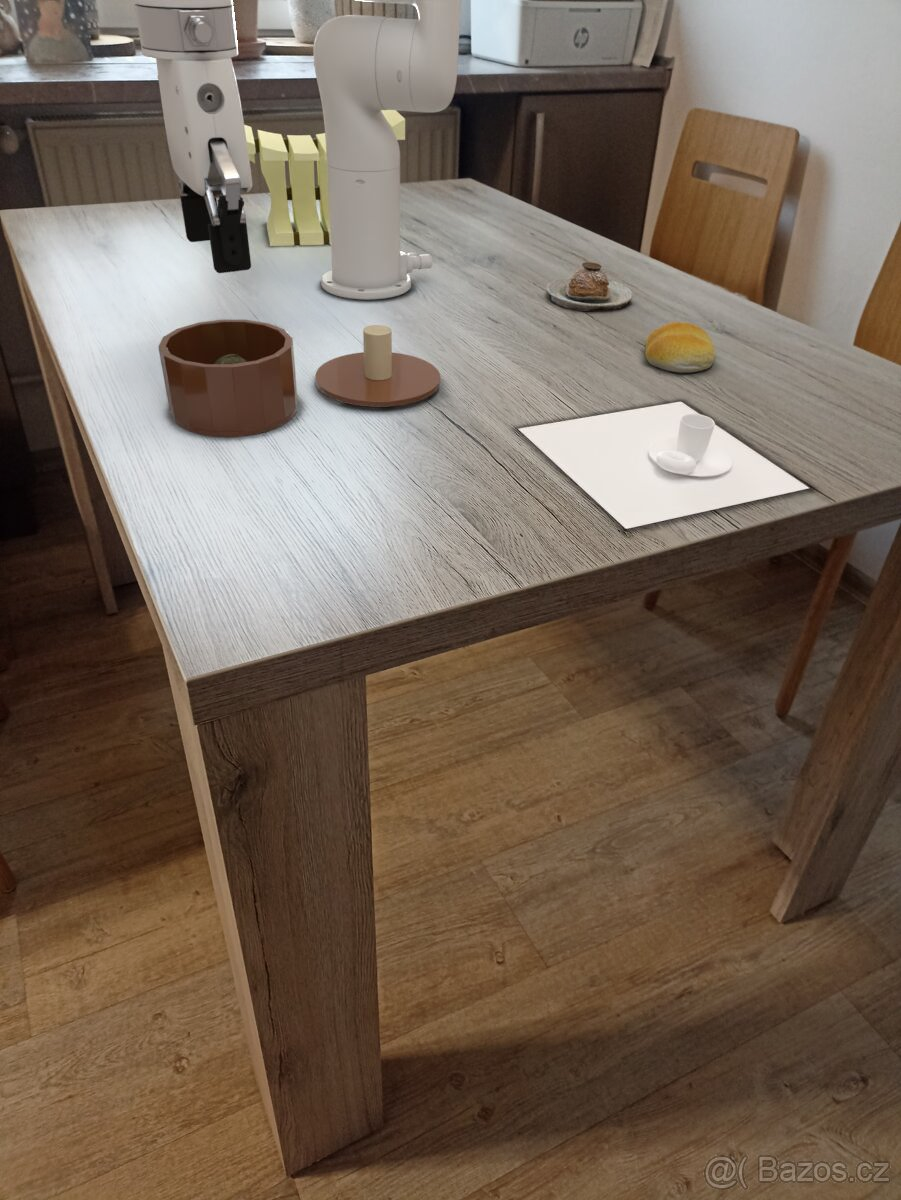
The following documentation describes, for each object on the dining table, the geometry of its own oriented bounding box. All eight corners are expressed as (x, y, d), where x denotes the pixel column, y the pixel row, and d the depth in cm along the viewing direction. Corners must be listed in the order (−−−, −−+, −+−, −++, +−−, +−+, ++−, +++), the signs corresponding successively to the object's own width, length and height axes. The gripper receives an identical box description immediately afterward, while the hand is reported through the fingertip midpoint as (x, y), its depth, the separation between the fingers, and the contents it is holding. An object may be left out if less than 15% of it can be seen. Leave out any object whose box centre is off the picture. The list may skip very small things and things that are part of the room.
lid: (408, 354, 101) (408, 302, 97) (461, 399, 91) (464, 342, 88) (298, 372, 96) (294, 317, 92) (343, 421, 86) (340, 362, 82)
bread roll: (644, 371, 99) (650, 338, 97) (644, 344, 106) (649, 312, 104) (716, 379, 98) (724, 345, 96) (711, 351, 105) (718, 318, 103)
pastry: (550, 281, 125) (554, 249, 122) (633, 289, 123) (638, 257, 121) (541, 307, 116) (544, 273, 113) (630, 317, 114) (635, 281, 111)
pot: (275, 377, 94) (269, 313, 90) (314, 423, 86) (309, 355, 81) (159, 395, 89) (146, 328, 85) (188, 446, 81) (176, 375, 76)
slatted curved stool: (389, 218, 151) (388, 103, 140) (404, 243, 139) (405, 118, 128) (215, 221, 145) (200, 101, 135) (215, 247, 133) (199, 117, 122)
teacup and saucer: (672, 488, 77) (681, 448, 75) (624, 450, 83) (631, 411, 81) (749, 472, 80) (760, 433, 78) (698, 436, 86) (706, 398, 84)
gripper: (266, 45, 63) (287, 278, 74) (206, 21, 75) (231, 225, 86) (164, 47, 61) (201, 289, 71) (118, 22, 73) (156, 233, 83)
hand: (218, 254), depth 79 cm, fingers open, 9 cm apart
